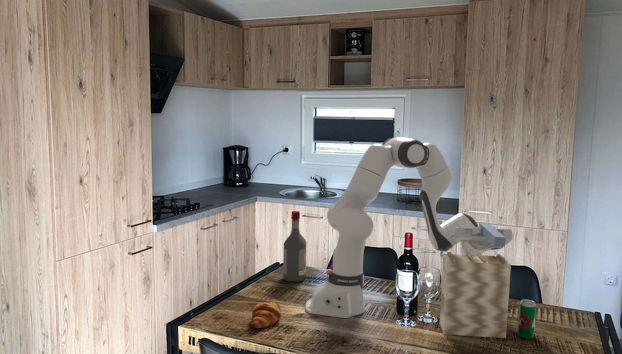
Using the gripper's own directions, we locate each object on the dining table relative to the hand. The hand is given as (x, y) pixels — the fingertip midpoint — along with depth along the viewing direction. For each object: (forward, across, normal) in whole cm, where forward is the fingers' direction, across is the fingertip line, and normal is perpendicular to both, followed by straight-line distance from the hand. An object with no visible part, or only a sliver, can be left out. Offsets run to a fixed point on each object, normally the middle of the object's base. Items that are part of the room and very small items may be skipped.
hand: (487, 228), depth 174 cm
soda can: (-8, +12, +35) cm, 37 cm away
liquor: (-49, -72, +11) cm, 88 cm away
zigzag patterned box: (-10, -5, +33) cm, 35 cm away
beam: (+4, 0, +5) cm, 6 cm away
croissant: (-8, -76, +34) cm, 83 cm away
